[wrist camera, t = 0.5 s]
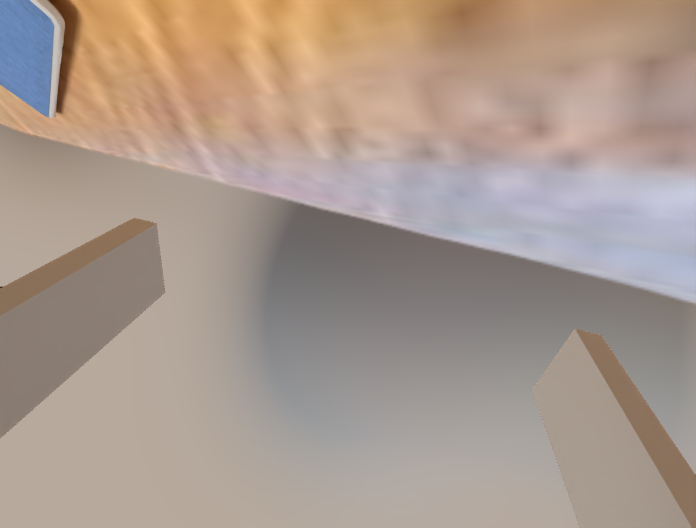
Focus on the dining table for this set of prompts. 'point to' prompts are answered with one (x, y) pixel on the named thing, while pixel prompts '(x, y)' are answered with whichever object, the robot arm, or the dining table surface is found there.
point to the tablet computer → (31, 52)
